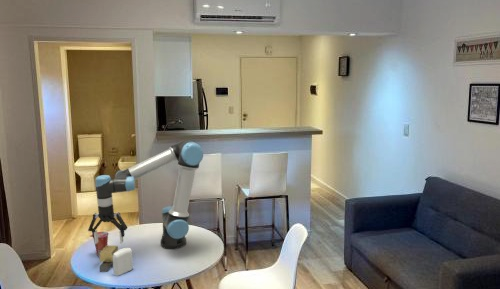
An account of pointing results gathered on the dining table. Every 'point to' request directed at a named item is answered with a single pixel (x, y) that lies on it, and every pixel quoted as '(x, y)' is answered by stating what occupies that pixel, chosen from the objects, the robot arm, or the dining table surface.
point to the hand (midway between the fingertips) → (109, 242)
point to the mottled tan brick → (108, 253)
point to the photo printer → (122, 261)
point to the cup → (101, 241)
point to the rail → (105, 266)
